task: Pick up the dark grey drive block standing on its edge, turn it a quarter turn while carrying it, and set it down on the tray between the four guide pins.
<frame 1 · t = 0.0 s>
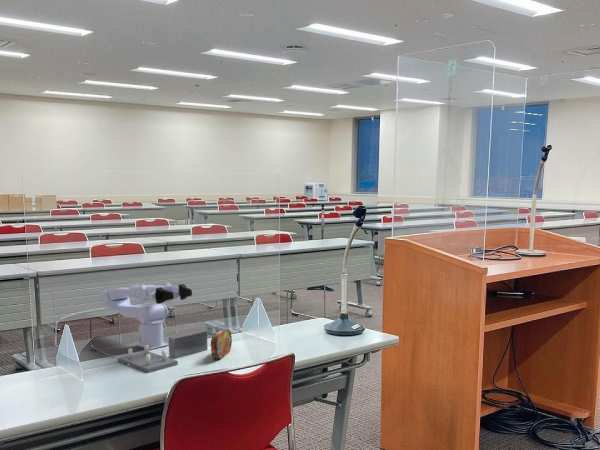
hand: (182, 294, 186), 22 cm above the table, tool horizontal, fingers open, 7 cm apart
tin: (221, 355, 187), on the table
tray: (147, 362, 179), on the table
drive: (188, 353, 190), on the table
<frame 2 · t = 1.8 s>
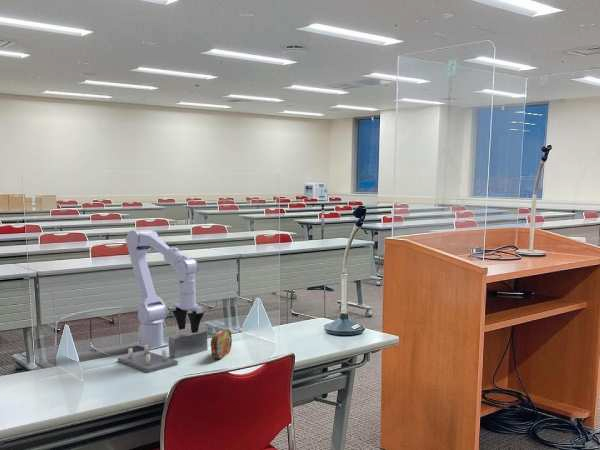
hand: (188, 330, 189), 8 cm above the table, tool pointing down, fingers open, 7 cm apart
nothing on the table moved.
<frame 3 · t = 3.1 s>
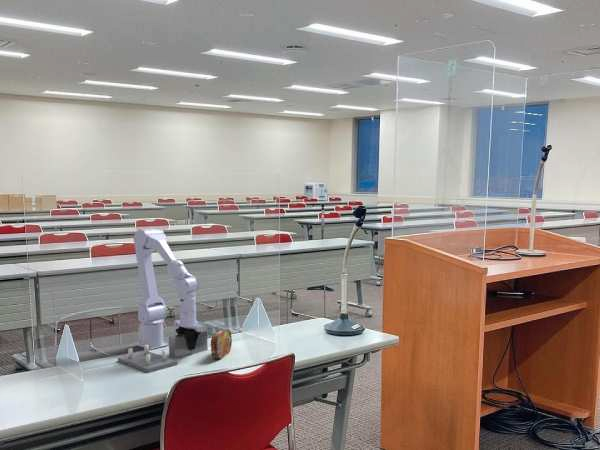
hand: (188, 348, 190), 2 cm above the table, tool pointing down, fingers closed on drive, 3 cm apart
drive: (188, 353, 190), on the table, touching gripper
everything else where it was.
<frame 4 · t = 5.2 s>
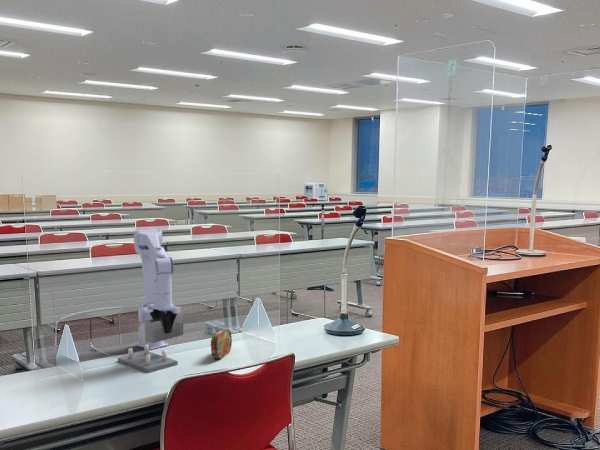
hand: (164, 332, 183), 9 cm above the table, tool pointing down, fingers closed on drive, 3 cm apart
drive: (164, 338, 183), point 7 cm above the table, touching gripper
everything else where it was.
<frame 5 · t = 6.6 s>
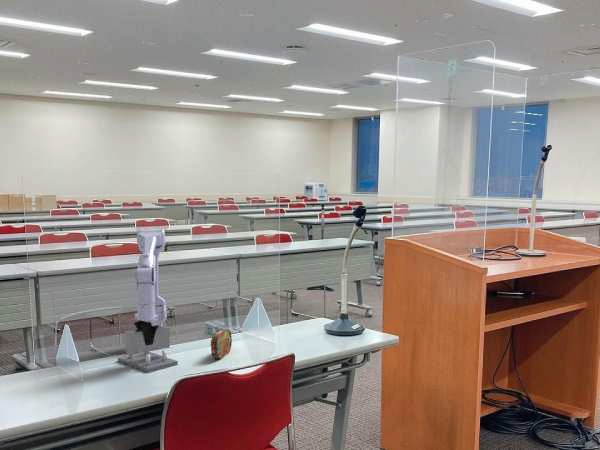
hand: (146, 343, 178), 7 cm above the table, tool pointing down, fingers closed on drive, 3 cm apart
drive: (147, 350, 179), point 4 cm above the table, touching gripper
everything else where it was.
when the fingers open (4 cm above the table, at t = 7.6 s): drive stays where it is, resting on tray.
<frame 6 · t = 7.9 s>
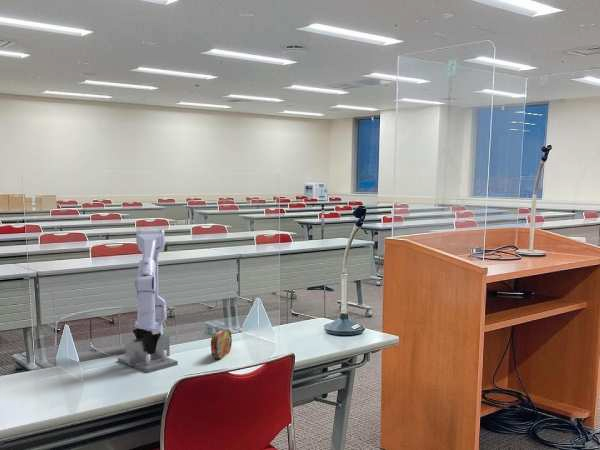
hand: (147, 351, 178), 4 cm above the table, tool pointing down, fingers open, 6 cm apart
drive: (148, 359, 179), point 1 cm above the table, touching tray
everything else where it was.
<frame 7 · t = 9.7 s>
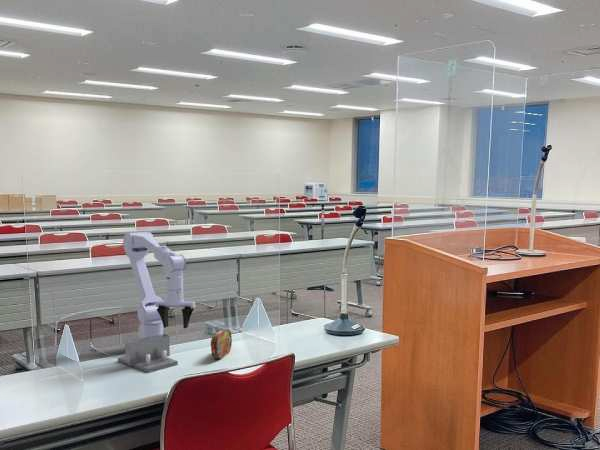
hand: (175, 327, 189), 9 cm above the table, tool pointing down, fingers open, 7 cm apart
nothing on the table moved.
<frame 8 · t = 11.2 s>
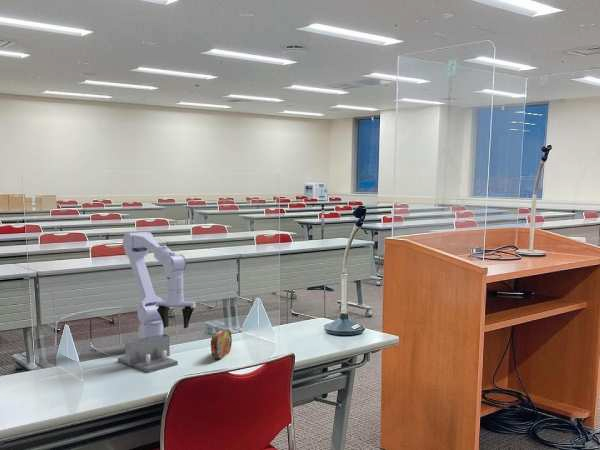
hand: (176, 327, 189), 9 cm above the table, tool pointing down, fingers open, 7 cm apart
nothing on the table moved.
at the end: drive 0.3 cm off-centre on the tray, point 1.2 cm above the tray's base; drive tilted 0°; the gripper is holding nothing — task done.
